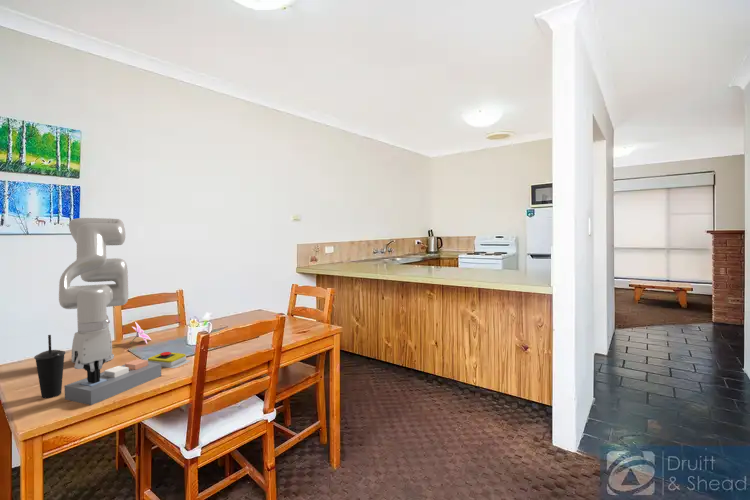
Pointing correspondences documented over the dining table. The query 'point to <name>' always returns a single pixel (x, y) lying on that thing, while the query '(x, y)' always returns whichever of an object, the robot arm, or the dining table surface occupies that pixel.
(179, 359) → the emergency button
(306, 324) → the dining table surface
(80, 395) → the key panel
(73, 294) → the robot arm
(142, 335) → the lily
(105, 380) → the slate blue key
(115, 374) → the off white key
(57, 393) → the drinking cup
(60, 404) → the dining table surface
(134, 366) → the terracotta key
